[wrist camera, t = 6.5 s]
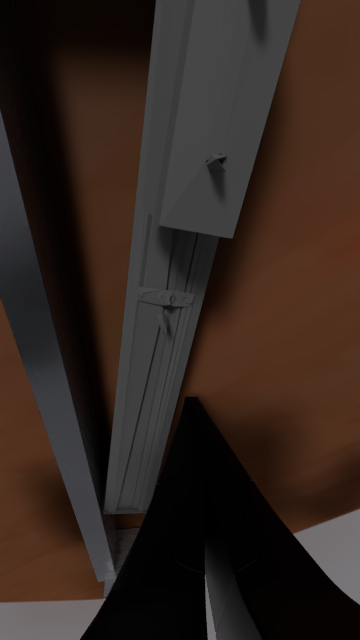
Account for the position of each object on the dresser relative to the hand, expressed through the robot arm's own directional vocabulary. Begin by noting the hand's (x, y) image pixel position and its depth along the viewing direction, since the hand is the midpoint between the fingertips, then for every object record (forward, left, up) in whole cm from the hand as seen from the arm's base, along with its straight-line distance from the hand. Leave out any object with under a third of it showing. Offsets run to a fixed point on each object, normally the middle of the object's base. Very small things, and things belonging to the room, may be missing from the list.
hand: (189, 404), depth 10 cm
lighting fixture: (+1, -3, -2) cm, 4 cm away
